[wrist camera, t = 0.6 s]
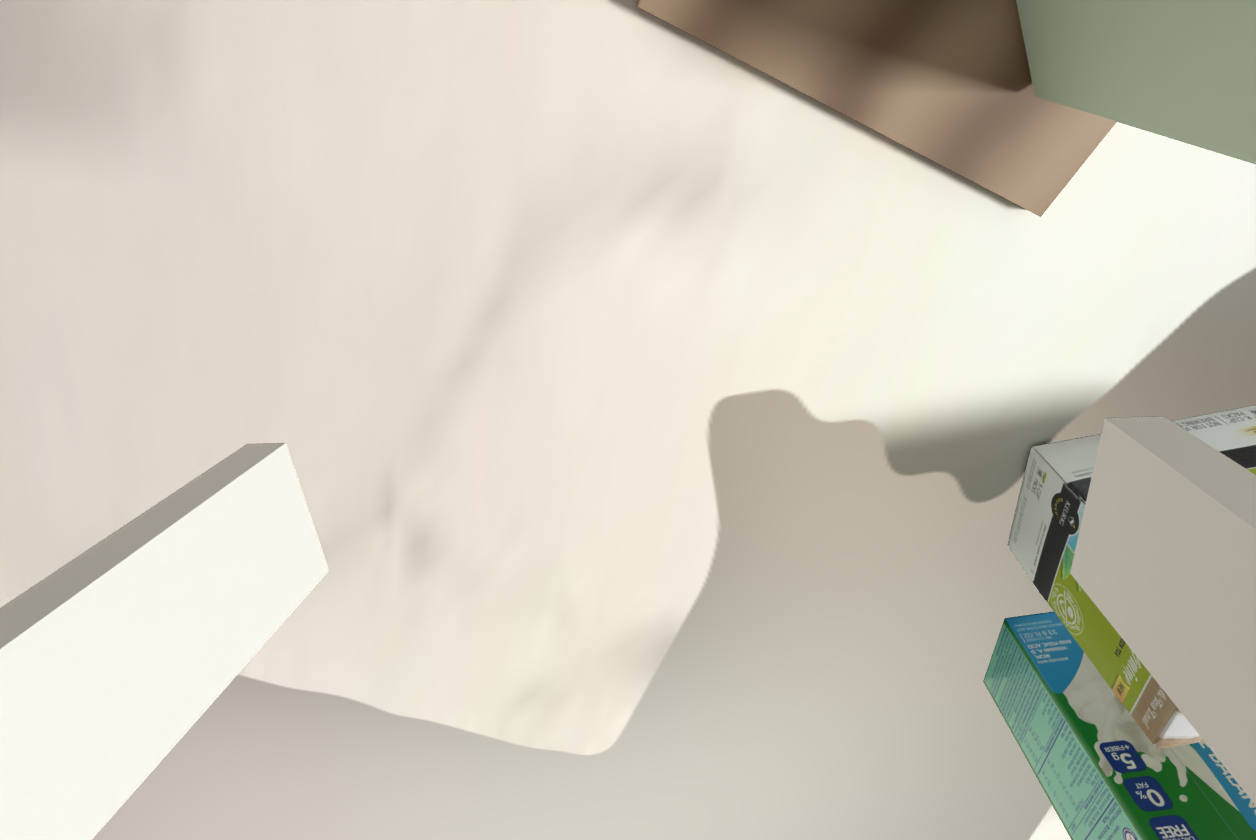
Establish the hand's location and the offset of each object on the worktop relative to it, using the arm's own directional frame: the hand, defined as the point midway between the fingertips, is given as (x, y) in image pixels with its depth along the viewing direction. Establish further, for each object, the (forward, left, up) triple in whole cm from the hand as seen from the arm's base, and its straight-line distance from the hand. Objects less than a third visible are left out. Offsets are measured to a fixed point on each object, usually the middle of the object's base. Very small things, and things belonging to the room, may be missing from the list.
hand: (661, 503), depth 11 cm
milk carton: (+47, +25, -22) cm, 57 cm away
